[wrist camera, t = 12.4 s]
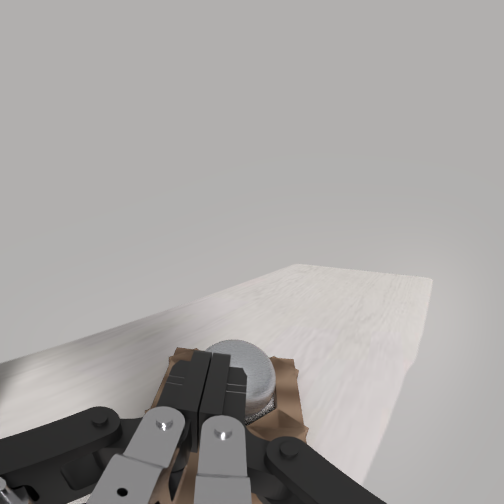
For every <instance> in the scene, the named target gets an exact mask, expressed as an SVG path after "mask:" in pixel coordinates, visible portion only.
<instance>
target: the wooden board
mask: <svg viewBox="0 0 504 504" xmlns="http://www.w3.org/2000/svg"><path fill="white" fill-rule="evenodd" d="M194 350H198V349H197V348H196V349H193V350H192V349H185V348H178V347H177V348H176V351H175V353H174V355H173V356H171V357H169V367H168V369H167V371H166V374H165V376H164V378H163V380H162V383H161V385H160V387H159V390H158V392H157V394H156V397H155V399H154V401H153V404H152V406H151V408H150V409H153V408H155V407H156V405H157V403H158V400H159V398H160V395H161V393H162V390H163V388H164V385H165V383H166V380H167V378H168V376H169V373H170V371H171V368H172V366H173V365H174V364H176V363H177V362H178V361H179V360H185V361H191V358H192V355H193V352H194ZM199 351H200V350H199ZM269 359H270V361H271V362H272V364H273V367H274V370H275V374H276V386H275V391H274V406H275V410H273V411H271V412H270V413H268V414H266V415H265V416H263V417H261V418H260V419H258V420H256V421H255V422H253V423H251V424H250V425H248V426H246V427H247V429H248V430H249V431H250V432H251V433H252V434H253V435H255V436H257V437H259V438H262V439H265V440H268V441H272V440H273V439H275V438H278V437H282V436H291V437H296V438H298V439H300V440H302V441H304V442H305V443H306V435H307V432H308V429H309V428H308V427H306V426H304V423H303V416H302V410H301V403H300V397H299V391H298V384H297V377H298V372H299V370H297V369H295V366H294V360H293V359H282V358H276V357H275V356H273V357H271V358H269ZM150 409H148V410H145V414H146V413H147V412H148V411H149V410H150ZM306 444H307V443H306ZM198 461H199V447H198V452H197V453H194V452H190V456H189V461H188V463H187V470H186V473H185V476H184V479H183V482H182V485H181V488H180V491H179V494H178V497H177V500H176V503H175V504H194V494H195V482H196V474H197V472H198ZM251 500H252V504H263V503H262V502H261V501H260V500H259V499H258V498H257V496H256V494H254V493H251Z"/></svg>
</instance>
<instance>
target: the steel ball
mask: <svg viewBox="0 0 504 504" xmlns="http://www.w3.org/2000/svg"><path fill="white" fill-rule="evenodd" d="M205 351H206V352H212V356H213V352H214V353H222V354H230V355H231V362H230V367H238V368H243V370H244V371H245V373H246V375H247V391H246V407H245V419H246V418H249V417H252V416H254V415H256V414H257V413H259V412H260V411H262V410H263V409H264V408H265V407H266V406H267V404H268V403H269V402H270V400H271V398H272V396H273V394H274V391H275V386H276V374H275V370H274V367H273V364H272V362H271V361H270V359H269V357H268V356H267V355H266V354H265V353H264V352H263V351H262V350H261V349H260V348H258V347H257V346H255V345H253V344H251V343H249V342H246V341H242V340H225V341H221V342H218V343H216V344H214V345H212V346H210V347H209V348H208V349H206V350H205Z"/></svg>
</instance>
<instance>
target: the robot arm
mask: <svg viewBox="0 0 504 504" xmlns="http://www.w3.org/2000/svg"><path fill="white" fill-rule="evenodd" d="M230 362H231V355H230V354H222V353H214V352H213V356H212V352H206V351H199V350H194V352H193V355H192V358H191V361H185V360H179V361H178V362H177V363H176V364H174V365H173V366H172V368H171V371H170V373H169V376H168V378H167V380H166V383H165V385H164V388H163V390H162V393H161V395H160V398H159V400H158V403H157V405H156V407H155V408H153V409H150V410H149V411H148V412H147V413H146V414H145V415H144V417H142V418H137V419H120V418H119V416H118V414H117V413H116V412H115V411H114V410H112V409H110V408H107V407H101V406H99V407H93V408H90V409H87V410H84V411H82V412H79V413H76V414H74V415H71V416H68V417H66V418H63V419H60V420H57V421H55V422H52V423H49V424H46V425H43V426H40V427H37V428H34V429H31V430H28V431H25V432H22V433H19V434H16V435H13V436H9V437H6V438H3V439H0V504H67V503H69V502H72V501H74V500H77V499H79V498H81V497H84V496H86V495H88V494H91V493H92V494H91V496H90V498H89V499H88V501H87V503H83V504H175V503H176V500H177V497H178V494H179V491H180V488H181V485H182V482H183V479H184V476H185V473H186V470H187V463H188V461H189V456H190V452H194V453H197V452H198V447H199V461H198V472H197V474H196V482H195V494H194V504H252V500H251V493H254V494H256V496H257V498H258V499H259V500H260V501H261V502H262V503H263V504H386V503H385V502H384V501H382V500H380V499H379V498H378V497H376V496H375V495H373V494H372V493H371V492H369V491H368V490H366V489H365V488H363V487H362V486H361V485H359V484H358V483H356V482H355V481H354V480H352V479H351V478H350V477H348V476H347V475H346V474H344V473H343V472H342V471H340V470H339V469H338V468H336V467H335V466H334V465H332V464H331V463H330V462H329V461H327V460H326V459H325V458H323V457H322V456H321V455H320V454H318V453H317V452H316V451H315V450H314V449H312V448H311V447H310V446H309V445H307V444H306V443H305V442H304V441H302V440H300V439H298V438H296V437H291V436H282V437H278V438H275V439H273V440H272V441H268V440H265V439H262V438H259V437H257V436H255V435H253V434H252V433H251V432H250V431H249V430H248V429H247V427H246V425H245V407H246V391H247V375H246V373H245V371H244V370H243V368H238V367H230Z"/></svg>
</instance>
